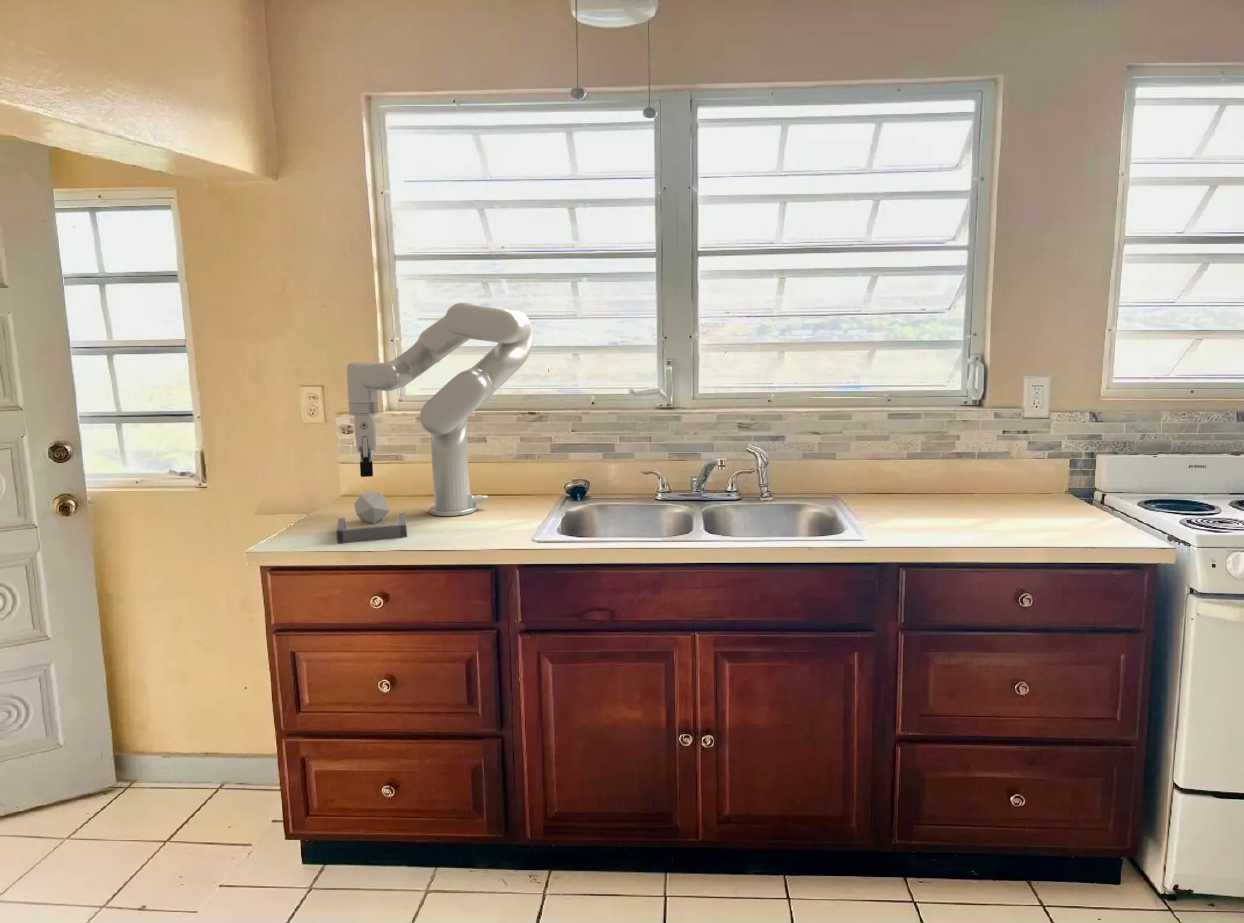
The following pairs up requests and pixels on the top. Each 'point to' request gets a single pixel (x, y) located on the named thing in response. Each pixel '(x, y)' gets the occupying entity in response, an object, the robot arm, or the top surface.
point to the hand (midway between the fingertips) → (366, 475)
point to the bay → (371, 531)
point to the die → (371, 507)
